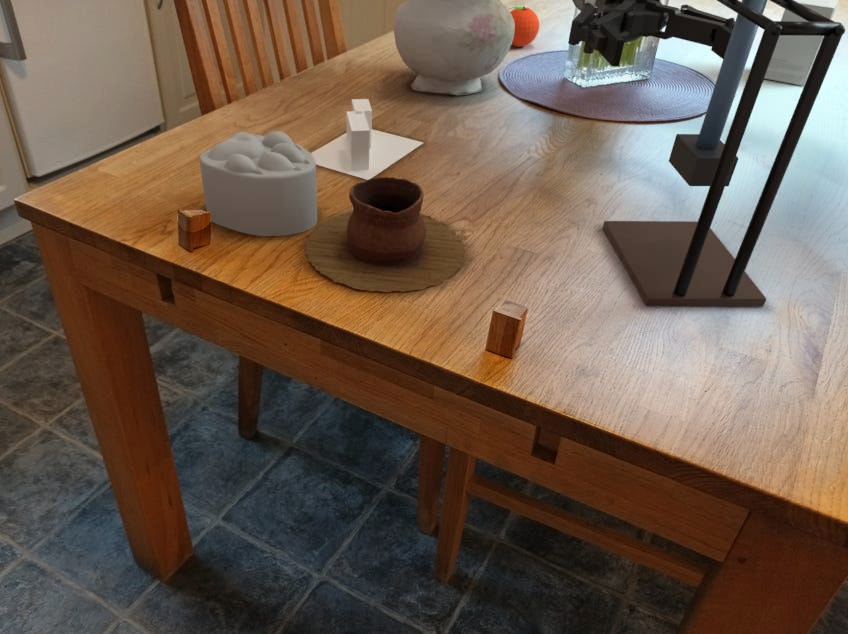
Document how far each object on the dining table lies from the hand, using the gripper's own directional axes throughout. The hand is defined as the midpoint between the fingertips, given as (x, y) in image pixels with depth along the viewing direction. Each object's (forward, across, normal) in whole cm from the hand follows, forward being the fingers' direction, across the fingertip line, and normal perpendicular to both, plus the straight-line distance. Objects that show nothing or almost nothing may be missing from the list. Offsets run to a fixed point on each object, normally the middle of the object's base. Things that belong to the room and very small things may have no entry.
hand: (680, 54), depth 78 cm
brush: (+12, 0, -8) cm, 14 cm away
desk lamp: (+13, 0, -18) cm, 22 cm away
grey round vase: (-45, +18, -18) cm, 52 cm away
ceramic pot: (+11, +32, -18) cm, 38 cm away
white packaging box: (-50, -43, -18) cm, 68 cm away
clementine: (-67, +3, -18) cm, 70 cm away
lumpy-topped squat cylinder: (+3, +46, -18) cm, 49 cm away
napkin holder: (-16, +34, -18) cm, 41 cm away
